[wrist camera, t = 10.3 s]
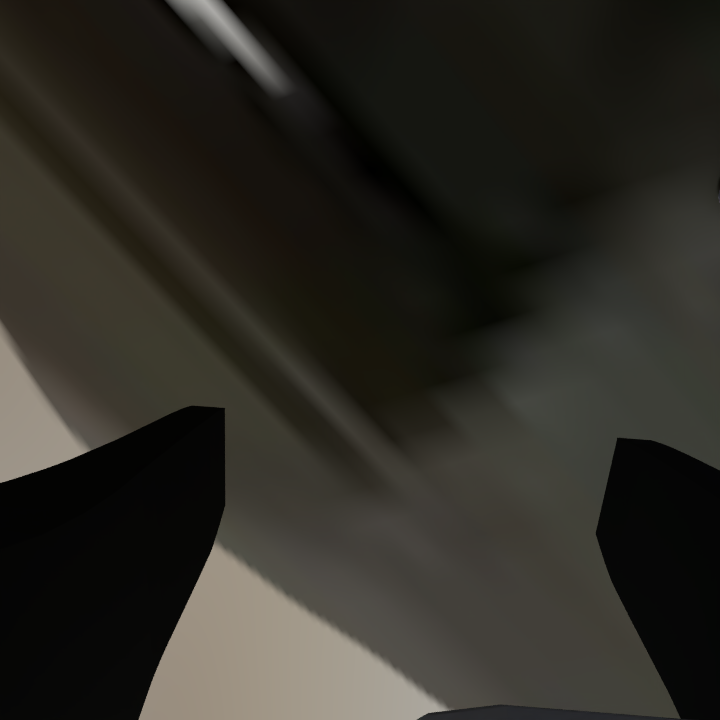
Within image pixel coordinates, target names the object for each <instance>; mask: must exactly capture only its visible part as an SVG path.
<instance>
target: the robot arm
mask: <svg viewBox="0 0 720 720" xmlns="http://www.w3.org/2000/svg"><path fill="white" fill-rule="evenodd" d="M718 197H719V203H720V191H719V196H718ZM224 507H225V408H216V407H203V406H189V407H185V408H183V409H180V410H178V411H176V412H173V413H171V414H169V415H167V416H165V417H163V418H161V419H159V420H157V421H154V422H152V423H150V424H148V425H146V426H144V427H142V428H140V429H138V430H136V431H134V432H132V433H130V434H128V435H125V436H123V437H121V438H119V439H117V440H115V441H112V442H110V443H108V444H105V445H103V446H101V447H98V448H96V449H94V450H91V451H89V452H87V453H84V454H82V455H80V456H78V457H75V458H73V459H71V460H68V461H65V462H63V463H60V464H58V465H54V466H52V467H49V468H46V469H43V470H40V471H37V472H34V473H31V474H28V475H25V476H22V477H19V478H16V479H13V480H9V481H6V482H2V483H0V720H138V719H139V716H140V714H141V711H142V708H143V705H144V702H145V699H146V696H147V693H148V690H149V687H150V685H151V682H152V679H153V677H154V674H155V672H156V669H157V667H158V665H159V662H160V660H161V657H162V655H163V653H164V651H165V648H166V646H167V644H168V642H169V640H170V638H171V636H172V634H173V631H174V629H175V627H176V625H177V623H178V621H179V619H180V617H181V614H182V612H183V610H184V608H185V606H186V604H187V602H188V600H189V598H190V596H191V593H192V591H193V589H194V587H195V585H196V583H197V581H198V579H199V576H200V574H201V572H202V570H203V568H204V566H205V563H206V561H207V559H208V557H209V555H210V552H211V550H212V547H213V544H214V541H215V538H216V534H217V531H218V528H219V525H220V521H221V518H222V514H223V511H224ZM596 536H597V539H598V542H599V546H600V549H601V552H602V555H603V558H604V561H605V564H606V567H607V570H608V573H609V575H610V578H611V581H612V583H613V585H614V587H615V589H616V591H617V593H618V595H619V597H620V599H621V601H622V603H623V605H624V607H625V609H626V611H627V613H628V615H629V617H630V619H631V621H632V623H633V625H634V627H635V629H636V631H637V633H638V634H639V636H640V638H641V640H642V642H643V644H644V646H645V648H646V650H647V652H648V654H649V656H650V658H651V659H652V661H653V663H654V665H655V667H656V669H657V671H658V673H659V675H660V677H661V679H662V681H663V683H664V685H665V686H666V688H667V690H668V692H669V694H670V696H671V699H672V701H673V703H674V705H675V707H676V709H677V712H678V714H679V716H680V718H681V719H676V718H663V717H651V716H638V715H625V714H613V713H600V712H588V711H575V710H563V709H550V708H537V707H525V706H512V705H493V706H484V707H476V708H468V709H459V710H451V711H442V712H434V713H428V714H426V715H424V716H423V717H421V718H419V719H417V720H720V470H718V469H716V468H713V467H711V466H709V465H707V464H705V463H703V462H701V461H699V460H697V459H695V458H693V457H691V456H689V455H687V454H685V453H683V452H680V451H678V450H676V449H674V448H671V447H669V446H666V445H664V444H661V443H658V442H655V441H652V440H640V439H626V438H617V442H616V447H615V451H614V455H613V460H612V464H611V469H610V473H609V477H608V482H607V486H606V491H605V495H604V499H603V504H602V508H601V513H600V517H599V521H598V526H597V530H596Z"/></svg>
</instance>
